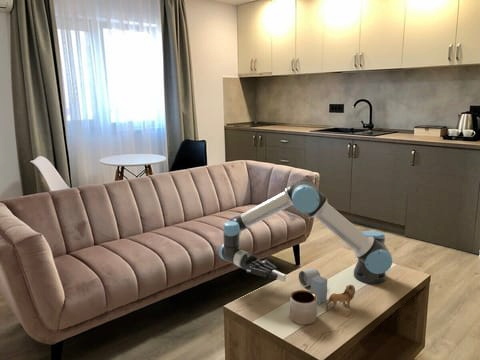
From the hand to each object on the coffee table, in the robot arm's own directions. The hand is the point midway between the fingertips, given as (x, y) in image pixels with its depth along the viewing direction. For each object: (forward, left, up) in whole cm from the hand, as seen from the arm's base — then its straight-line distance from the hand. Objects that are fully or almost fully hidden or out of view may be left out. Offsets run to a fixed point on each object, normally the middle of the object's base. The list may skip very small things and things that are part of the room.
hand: (284, 278), depth 163 cm
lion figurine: (-23, -6, -14) cm, 28 cm away
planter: (-8, +5, -14) cm, 17 cm away
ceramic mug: (-9, -24, -14) cm, 30 cm away
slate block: (-14, -10, -14) cm, 22 cm away
